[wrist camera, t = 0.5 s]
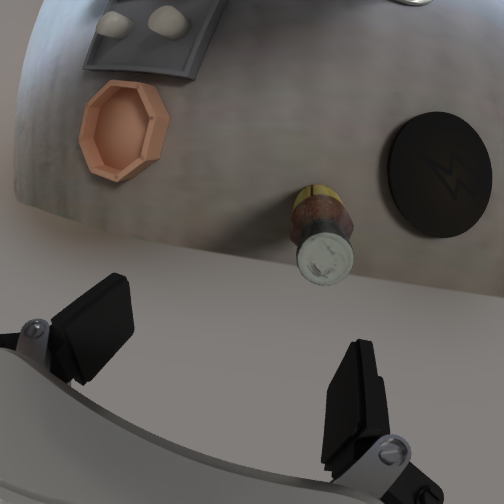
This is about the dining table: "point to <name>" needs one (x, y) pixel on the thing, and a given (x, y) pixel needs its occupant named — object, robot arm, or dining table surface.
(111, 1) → the parts tray
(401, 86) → the dining table surface
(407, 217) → the wireless charger
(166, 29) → the pebble
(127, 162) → the bowl
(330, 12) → the dining table surface
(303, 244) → the sauce bottle
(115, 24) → the pebble
